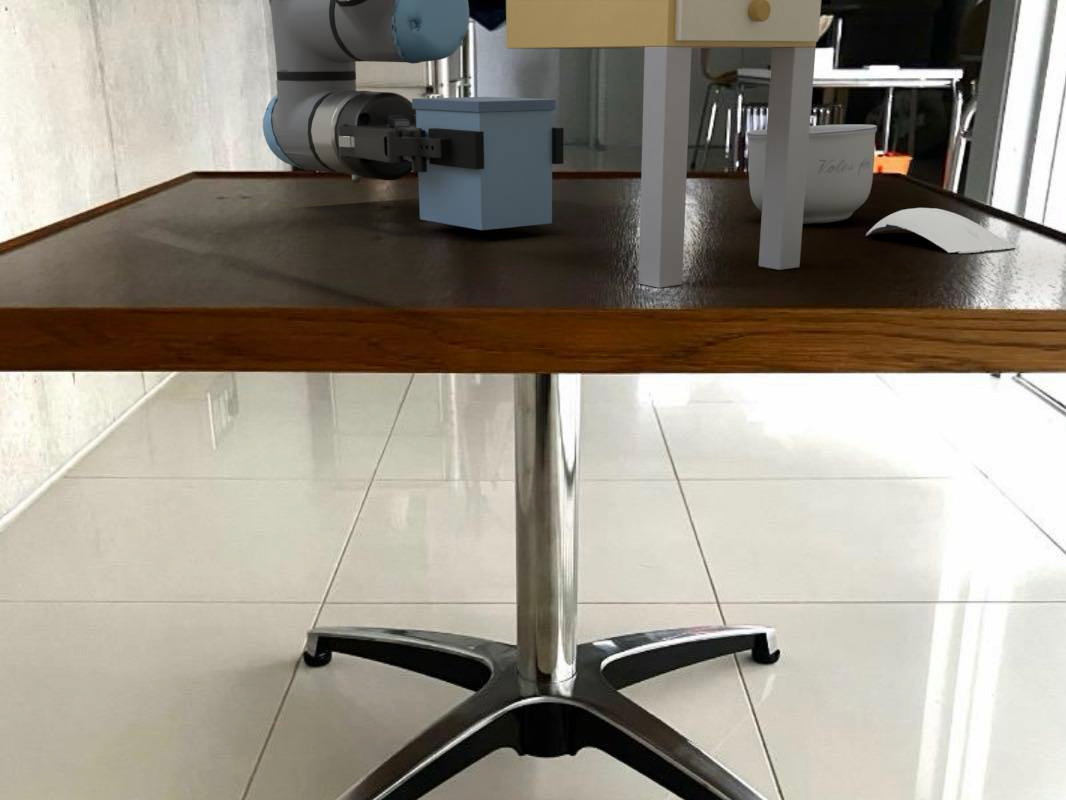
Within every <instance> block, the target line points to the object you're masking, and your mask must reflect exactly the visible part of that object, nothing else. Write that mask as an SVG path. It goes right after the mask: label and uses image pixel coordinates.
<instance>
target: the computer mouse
mask: <svg viewBox="0 0 1066 800" xmlns="http://www.w3.org/2000/svg"><path fill="white" fill-rule="evenodd" d="M902 229H903V230H907V231H910V232H912V233H915V234H916V235H918V236H920V237H923V238H925V239H927V240H928V241H930V242H931V243H933V244H935V245H936V246H938V247H939V248H941V249H943V250H944V251H946V252H947V253H948V254H950V253H958V254H971V253H974V254H975V253H980V252H986V251H1002V250H1006V249H1013V248H1014V249H1017V247H1016V246H1014V245H1013V243H1012V244H1011V243H1010V242H1008V241H1007V240H1005V239H1004V238H1002V237H1000V236H999V235H997V234H996V233H994V232H993V231H990V230H989V229H987V228H986V227H984V226H982V225H981V224H978V223H976V222H975V221H974V220H971V219H969V218H968V217H965V216H963V215H960V214H958V213H955V212H953V211H952V212H951V211H950V210H946V209H940V208H931V207H915V208H906V209H900V210H897V211H896V212H895V211H894V212H893V213H891V214H889V215H887V216H885V217H883V218H882V219H880V220H879V221H878V222H877V223H875V224H874V225H873V226H872V227H871V228H870V229H869V230H868V231H867V232H866V234H865V237H867V236H869V235H870V234H874V233H878V232H885V231H892V230H895V231H896V230H902Z"/></svg>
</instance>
